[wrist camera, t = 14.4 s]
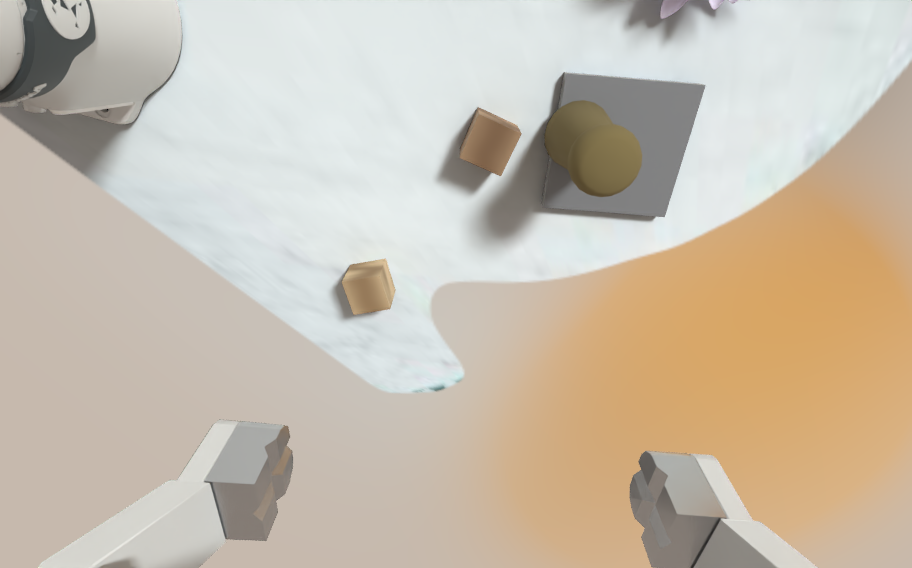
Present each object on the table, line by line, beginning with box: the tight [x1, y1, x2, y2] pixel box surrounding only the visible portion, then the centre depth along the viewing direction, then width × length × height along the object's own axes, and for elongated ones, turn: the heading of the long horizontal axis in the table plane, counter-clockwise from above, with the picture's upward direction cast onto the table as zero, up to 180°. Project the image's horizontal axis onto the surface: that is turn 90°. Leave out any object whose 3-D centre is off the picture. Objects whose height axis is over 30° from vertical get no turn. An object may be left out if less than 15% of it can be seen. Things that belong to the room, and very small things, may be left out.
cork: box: [545, 100, 642, 197], centre depth 37 cm, size 6×6×11 cm
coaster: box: [542, 72, 705, 217], centre depth 43 cm, size 12×12×1 cm
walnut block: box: [460, 107, 521, 176], centre depth 42 cm, size 4×4×4 cm
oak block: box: [342, 259, 395, 315], centre depth 49 cm, size 4×4×4 cm
